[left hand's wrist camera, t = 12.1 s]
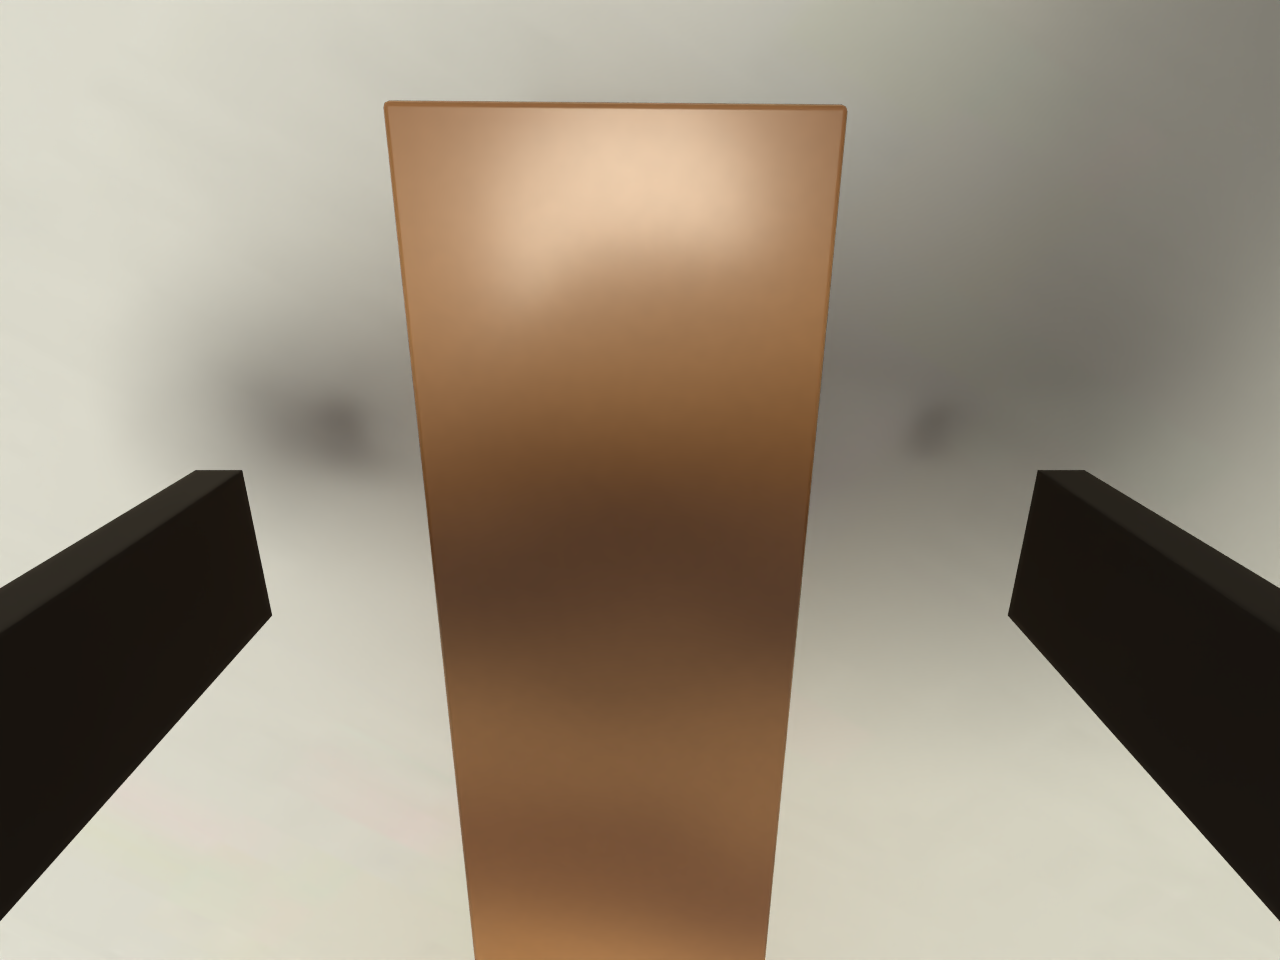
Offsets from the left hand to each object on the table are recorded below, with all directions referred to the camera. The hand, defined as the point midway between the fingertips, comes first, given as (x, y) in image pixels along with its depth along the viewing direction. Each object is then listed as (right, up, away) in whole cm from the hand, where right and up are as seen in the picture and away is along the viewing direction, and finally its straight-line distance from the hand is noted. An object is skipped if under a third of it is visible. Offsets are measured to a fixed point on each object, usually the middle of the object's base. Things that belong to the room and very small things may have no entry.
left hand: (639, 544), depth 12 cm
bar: (0, -20, +14) cm, 24 cm away
